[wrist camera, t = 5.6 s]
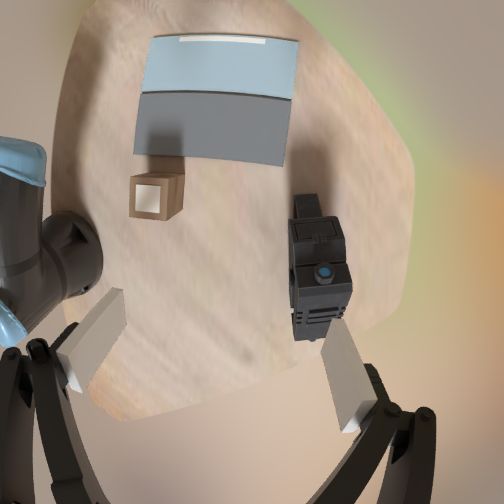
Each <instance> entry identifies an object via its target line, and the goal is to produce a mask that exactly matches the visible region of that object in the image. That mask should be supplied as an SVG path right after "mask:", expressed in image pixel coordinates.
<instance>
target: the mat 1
mask: <svg viewBox="0 0 504 504" xmlns="http://www.w3.org/2000/svg"><path fill="white" fill-rule="evenodd" d="M298 47H299V42H294V41H288V40H281V39H274V38H265V37H255V36H241V35H181V36H167V37H157V38H152V40H151V44H150V49H149V53H148V57H147V62H146V67H145V72H144V77H143V83H142V88H141V91H142V92H148V91H181V90H186V91H220V92H235V93H246V94H256V95H265V96H272V97H279V98H286V99H292V96H293V88H294V80H295V72H296V64H297V55H298Z"/></svg>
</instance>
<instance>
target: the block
mask: <svg viewBox="0 0 504 504" xmlns="http://www.w3.org/2000/svg"><path fill="white" fill-rule="evenodd" d="M184 183H185V174H176V173H161V172H150V173H145V174H140V175H135V176H131V177H130V202H129V217H133V218H143V219H152V220H161V221H167V220H168V219H170V218H171V217H173V216H174V215H175V214H177V213H178V212H179V211H181V210H182V209H183V196H184Z"/></svg>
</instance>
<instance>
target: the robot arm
mask: <svg viewBox="0 0 504 504" xmlns="http://www.w3.org/2000/svg"><path fill="white" fill-rule="evenodd" d="M46 159H47V157H46V152H45V150H44V148H43V147H42V146H41V145H39V144H37V143H34V142H30V141H26V140H21V139H15V138H9V137H2V136H0V345H1V346H4V347H10V348H8V349H6V350H5V351H4V352H3V354H2V357H1V360H0V504H35V495H34V483H33V461H32V460H33V457H32V451H33V450H32V449H33V425H34V413H35V408H36V414H37V420H38V425H39V430H40V435H41V440H42V444H43V448H44V452H45V456H46V460H47V463H48V467H49V470H50V473H51V476H52V479H53V483H52V484H51V490H52V493H53V496H54V499H55V501H56V504H110V502H109V501H108V500H107V498H106V497H105V495H104V493H103V491H102V489H101V487H100V485H99V482H98V480H97V478H96V476H95V474H94V471H93V469H92V467H91V464H90V462H89V459H88V457H87V454H86V452H85V449H84V446H83V443H82V440H81V437H80V435H79V431H78V429H77V425H76V422H75V419H74V415H73V412H72V409H71V404H70V401H69V396H68V392H67V389H66V387H65V386H66V385H67V383H68V382H69V384H70V386H71V389H73V390H75V391H77V392H80V393H84V391H85V390H86V388H87V386H88V385H89V383H90V381H91V380H92V378H93V376H94V375H95V373H96V371H97V370H98V368H99V367H100V365H101V363H102V362H103V360H104V359H105V357H106V356H107V354H108V352H109V351H110V349H111V348H112V346H113V345H114V343H115V342H116V340H117V339H118V337H119V336H120V334H121V333H122V331H123V330H124V328H125V327H126V325H127V321H126V313H125V305H124V296H123V289H118V288H114V287H112V288H111V290H110V291H109V292H108V293H107V294H106V295H105V296H104V297H103V298H102V299H101V300H100V301H99V302H98V303H97V305H96V306H95V307H94V308H93V309H92V310H91V311H90V312H89V313H88V314H87V316H86V317H85V318H84V319H83V320H82V321H81V322H80V323H77V322H74V323H72V324H71V325H69V326H68V327H67V328H66V329H65V330H64V331H63V332H62V333H61V335H60V337H58V338H57V339H56V340H55V341H54V343H53V344H52V345H51V346H50V347H48V344H47V342H46V341H45V340H44V339H42V338H36V339H32V340H31V341H29V342H28V343H27V345H26V350H27V353H28V355H29V356H26V355H22V353H21V351H20V349H19V348H17V347H12V346H15V345H16V344H17V343H18V342H19V341H20V340H21V339H22V338H25V337H27V336H28V334H29V333H30V332H31V331H32V330H33V329H34V328H35V327H36V325H38V324H39V323H40V322H41V321H42V320H43V319H44V318H45V317H46V316H47V315H48V314H49V313H50V312H51V311H52V310H53V309H54V308H55V307H56V306H57V305H58V304H59V303H60V302H62V301H63V300H66V299H69V298H72V297H76V296H79V295H82V294H85V293H86V292H88V291H89V290H90V289H91V288H93V287H94V286H95V285H96V284H97V282H98V281H99V279H100V277H101V274H102V269H103V256H102V250H101V247H100V243H99V241H98V238H97V236H96V234H95V233H94V231H93V229H92V228H91V227H90V225H89V224H88V223H87V222H86V221H85V220H84V219H83V218H82V217H80V216H79V215H77V214H75V213H73V212H70V211H61V212H58V213H55V214H53V215H51V216H49V217H48V218H46V219H45V220H44V221H43V222H42V214H43V196H44V187H45V186H46V181H45V170H46ZM321 355H322V358H323V362H324V366H325V370H326V374H327V377H328V381H329V385H330V389H331V393H332V397H333V401H334V405H335V409H336V413H337V417H338V422H339V425H340V430H341V433H347V432H355V431H356V429H357V428H358V427H359V426H360V429H361V432H360V434H359V435H358V436H357V437H356V439H355V440H354V441H353V442H354V443H353V444H352V446H351V447H350V448H349V450H348V451H347V453H346V454H345V456H344V457H343V459H342V460H341V461H340V463H339V464H338V465H337V467H336V468H335V470H334V471H333V472H332V473H331V475H330V476H329V477H328V478H327V480H326V481H325V482H324V483H323V485H322V486H321V487H320V488H319V489H318V491H317V492H316V493H315V494H314V495H313V496H312V498H311V499H310V500H309V501H308V502H307V503H306V504H354V503H355V502H356V500H357V499H358V497H359V496H360V494H361V493H362V491H363V489H364V488H365V486H366V485H367V483H368V482H369V480H370V478H371V477H372V475H373V473H374V472H375V470H376V468H377V466H378V464H379V463H380V461H381V459H382V457H383V455H384V453H385V451H386V449H387V447H388V446H391V447H390V452H389V457H388V462H387V466H386V471H385V475H384V479H383V483H382V487H381V490H380V494H379V497H378V501H377V504H430V499H431V493H432V486H433V476H434V467H435V453H436V452H435V451H436V415H435V413H434V412H433V410H431V409H430V408H428V407H420V408H418V409H417V410H416V412H415V413H414V412H407V411H402V410H401V408H400V407H399V406H398V405H397V404H396V403H393V402H391V401H390V399H389V396H388V394H387V392H386V390H385V387H384V385H383V383H382V381H381V378H380V377H379V374H378V372H377V370H376V369H375V367H374V366H373V365H372V364H363V362H362V360H361V357H360V355H359V353H358V351H357V348H356V346H355V344H354V341H353V339H352V337H351V335H350V332H349V330H348V328H347V326H346V323H345V321H344V319H336V318H332V321H331V324H330V327H329V330H328V332H327V335H326V338H325V341H324V344H323V347H322V349H321Z"/></svg>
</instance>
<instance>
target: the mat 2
mask: <svg viewBox="0 0 504 504" xmlns="http://www.w3.org/2000/svg"><path fill="white" fill-rule="evenodd" d="M291 104H292V102H289V101H283V100H276V99H268V98H260V97H251V96H241V95H228V94H210V93H154V94H140V101H139V108H138V115H137V123H136V132H135V141H134V152H133V154H139V155H169V156H187V157H201V158H213V159H223V160H233V161H242V162H251V163H259V164H266V165H273V166H280V167H283V163H284V156H285V148H286V141H287V134H288V126H289V119H290V111H291Z"/></svg>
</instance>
